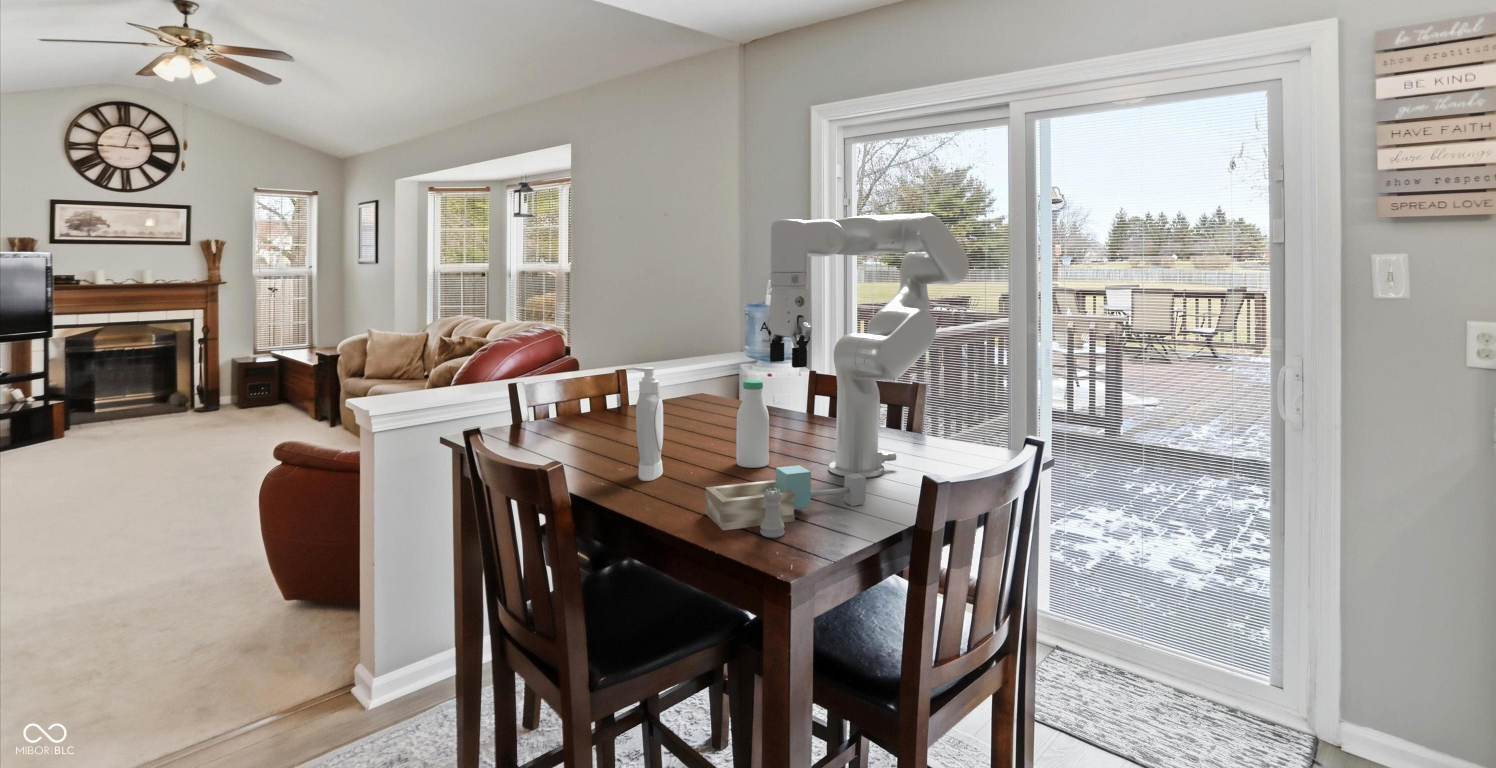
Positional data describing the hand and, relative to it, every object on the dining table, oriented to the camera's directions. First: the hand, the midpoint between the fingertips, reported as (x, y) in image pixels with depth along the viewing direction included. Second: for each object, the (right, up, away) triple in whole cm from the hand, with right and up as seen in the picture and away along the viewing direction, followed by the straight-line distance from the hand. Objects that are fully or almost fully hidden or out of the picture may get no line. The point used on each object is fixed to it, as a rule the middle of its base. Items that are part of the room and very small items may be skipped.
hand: (787, 364), depth 158 cm
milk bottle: (-7, -23, +22) cm, 33 cm away
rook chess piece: (-4, -31, -24) cm, 39 cm away
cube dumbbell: (+6, -28, -10) cm, 30 cm away
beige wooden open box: (-8, -29, -16) cm, 34 cm away
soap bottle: (-31, -25, +13) cm, 42 cm away
